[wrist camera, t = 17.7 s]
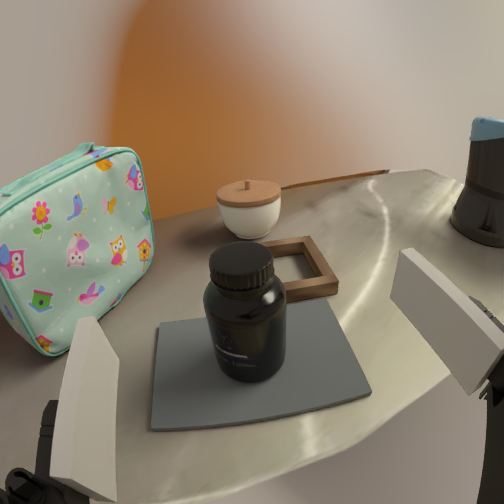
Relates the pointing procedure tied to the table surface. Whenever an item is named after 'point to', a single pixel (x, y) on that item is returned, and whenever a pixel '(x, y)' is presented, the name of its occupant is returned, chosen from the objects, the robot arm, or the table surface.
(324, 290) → the walnut collar
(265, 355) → the supplement bottle
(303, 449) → the table surface
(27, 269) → the lunch box
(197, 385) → the slate mat
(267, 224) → the lidded jar
